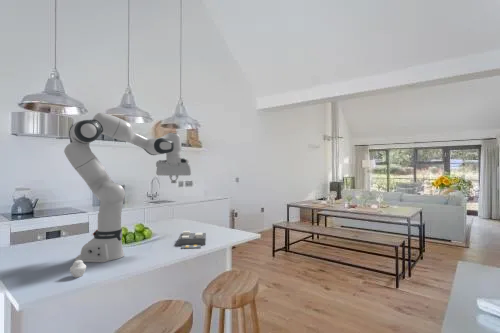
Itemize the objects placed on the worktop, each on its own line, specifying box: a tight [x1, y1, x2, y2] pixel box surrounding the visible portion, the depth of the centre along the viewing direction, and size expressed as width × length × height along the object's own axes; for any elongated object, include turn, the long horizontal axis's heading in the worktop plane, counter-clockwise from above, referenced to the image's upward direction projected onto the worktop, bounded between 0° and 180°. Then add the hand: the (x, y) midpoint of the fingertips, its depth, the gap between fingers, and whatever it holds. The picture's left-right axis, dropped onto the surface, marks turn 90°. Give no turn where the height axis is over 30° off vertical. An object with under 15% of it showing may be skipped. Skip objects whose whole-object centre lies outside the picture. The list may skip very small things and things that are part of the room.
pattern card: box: [180, 245, 202, 250], centre depth 169 cm, size 11×5×1 cm, turn 97°
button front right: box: [195, 232, 203, 238], centre depth 177 cm, size 4×4×3 cm
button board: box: [177, 232, 207, 247], centre depth 180 cm, size 16×14×4 cm
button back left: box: [182, 230, 191, 236], centre depth 183 cm, size 4×4×3 cm
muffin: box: [69, 260, 87, 278], centre depth 125 cm, size 6×6×7 cm
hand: (173, 183), depth 174 cm, fingers closed
